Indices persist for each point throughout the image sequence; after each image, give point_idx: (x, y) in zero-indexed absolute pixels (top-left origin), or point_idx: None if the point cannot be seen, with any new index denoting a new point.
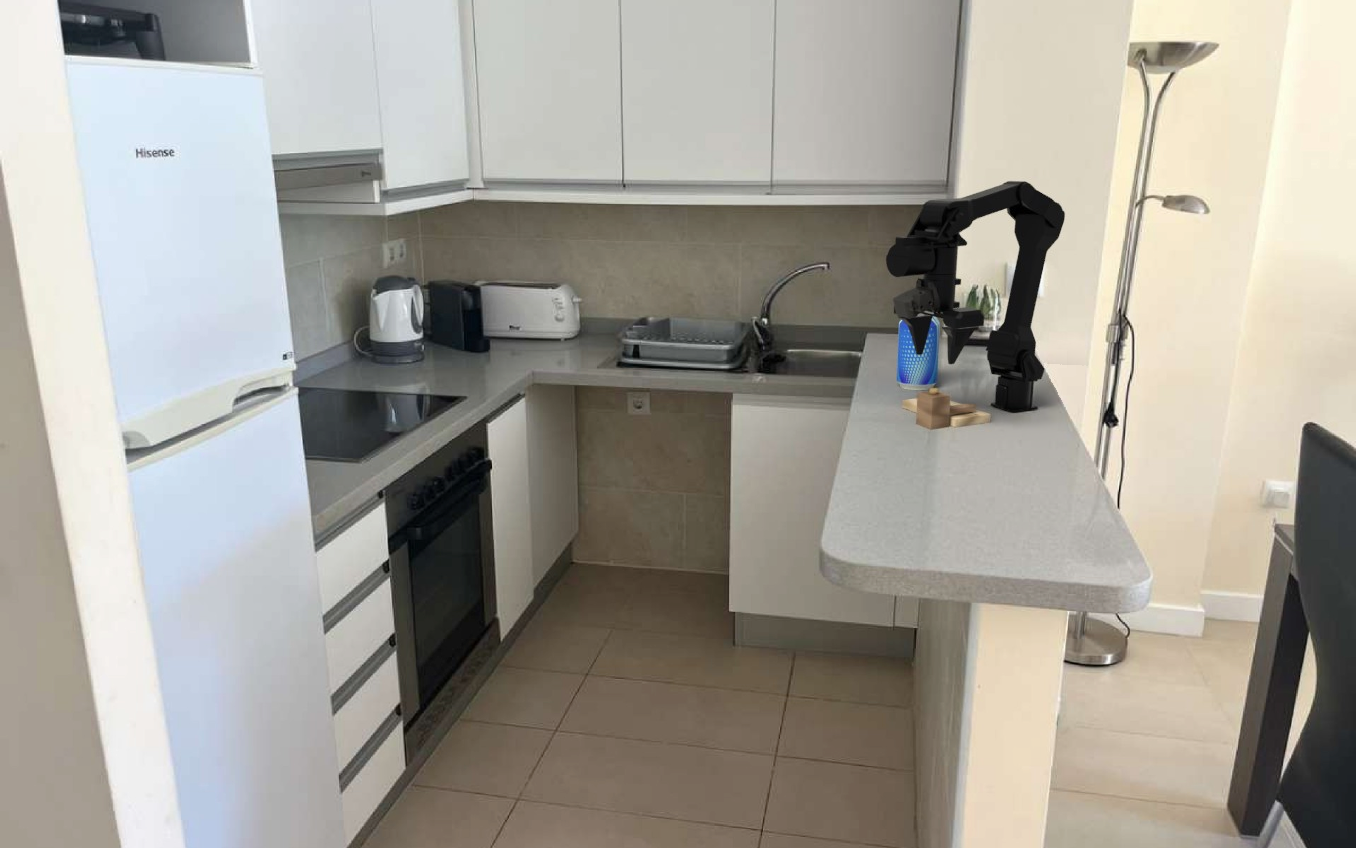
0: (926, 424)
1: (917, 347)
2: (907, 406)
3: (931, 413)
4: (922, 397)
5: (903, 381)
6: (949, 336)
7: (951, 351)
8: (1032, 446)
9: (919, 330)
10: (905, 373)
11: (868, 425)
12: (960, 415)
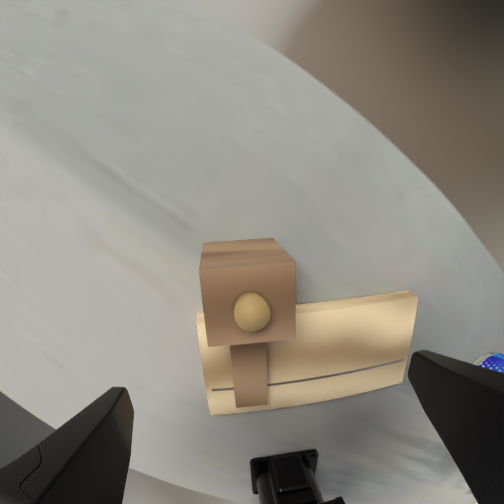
0: (225, 243)
1: (437, 370)
2: (395, 295)
3: (202, 254)
4: (260, 261)
5: (490, 359)
6: (2, 497)
7: (59, 430)
8: (30, 361)
9: (501, 440)
10: (497, 369)
11: (315, 109)
12: (227, 355)
